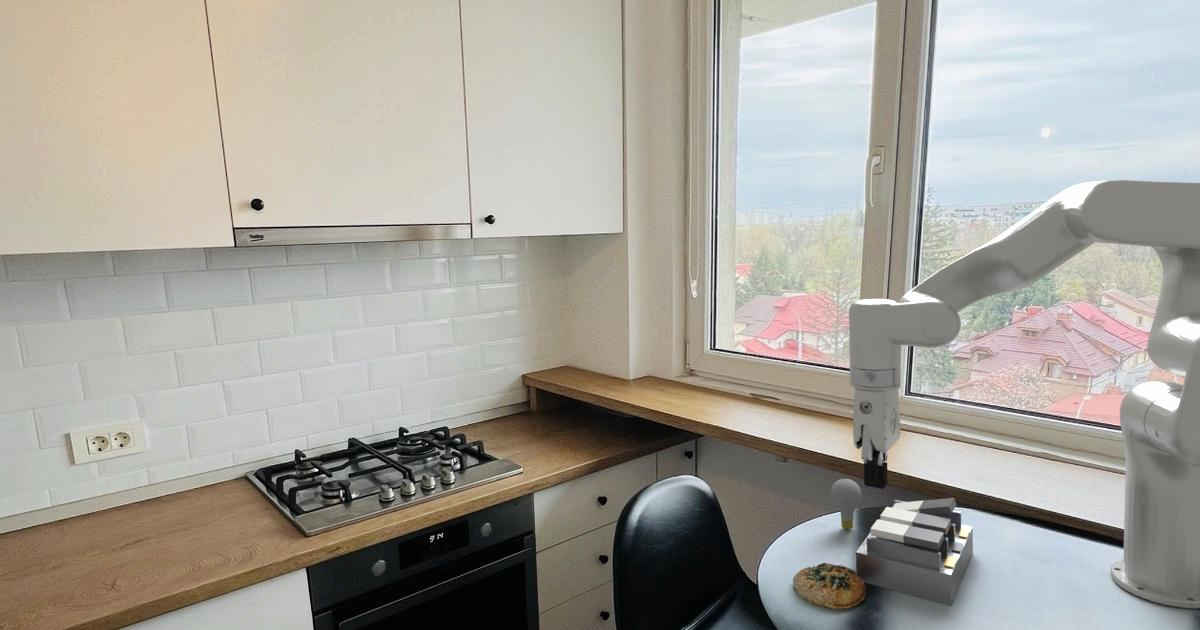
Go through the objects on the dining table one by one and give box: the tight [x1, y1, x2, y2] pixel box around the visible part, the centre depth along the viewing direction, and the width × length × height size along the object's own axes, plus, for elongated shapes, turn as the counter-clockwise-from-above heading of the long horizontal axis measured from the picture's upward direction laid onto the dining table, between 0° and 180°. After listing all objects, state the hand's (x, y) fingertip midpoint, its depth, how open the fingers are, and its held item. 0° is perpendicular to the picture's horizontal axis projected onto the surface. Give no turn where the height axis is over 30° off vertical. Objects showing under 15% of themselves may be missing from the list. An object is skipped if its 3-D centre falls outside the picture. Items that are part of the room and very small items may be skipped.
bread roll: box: [792, 562, 867, 611], centre depth 104 cm, size 11×11×5 cm
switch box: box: [855, 499, 974, 606], centre depth 109 cm, size 14×18×8 cm
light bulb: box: [830, 478, 863, 531], centre depth 124 cm, size 6×6×10 cm
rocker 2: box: [879, 506, 951, 535], centre depth 108 cm, size 10×4×1 cm, turn 51°
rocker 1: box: [891, 497, 957, 515], centre depth 113 cm, size 10×4×1 cm, turn 51°
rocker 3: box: [870, 519, 944, 550], centre depth 104 cm, size 10×4×1 cm, turn 51°
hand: (875, 485), depth 106 cm, fingers closed
